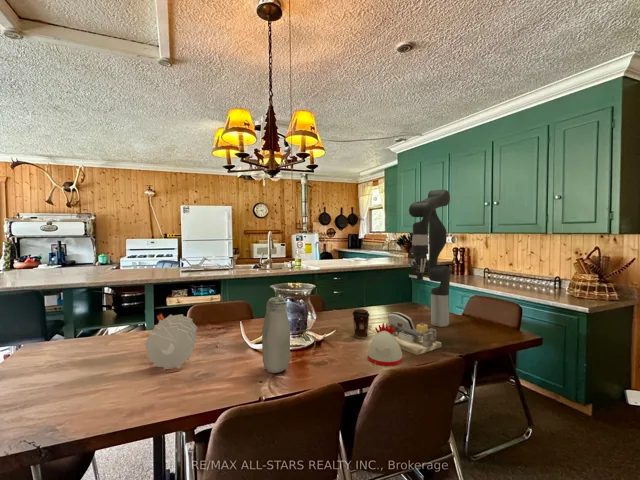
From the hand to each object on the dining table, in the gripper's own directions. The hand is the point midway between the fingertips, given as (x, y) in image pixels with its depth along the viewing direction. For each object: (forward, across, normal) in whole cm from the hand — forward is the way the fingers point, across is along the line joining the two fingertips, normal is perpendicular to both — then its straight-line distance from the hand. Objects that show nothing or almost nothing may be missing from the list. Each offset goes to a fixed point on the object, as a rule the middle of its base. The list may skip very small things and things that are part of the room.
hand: (420, 280), depth 156 cm
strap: (+23, +9, +1) cm, 25 cm away
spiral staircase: (+29, +103, -41) cm, 115 cm away
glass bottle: (+29, +73, -8) cm, 79 cm away
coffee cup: (+29, +20, -20) cm, 41 cm away
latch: (+21, +9, +8) cm, 24 cm away
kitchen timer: (+29, +31, +7) cm, 43 cm away
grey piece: (+29, -6, -16) cm, 34 cm away
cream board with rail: (+29, +8, +1) cm, 30 cm away
